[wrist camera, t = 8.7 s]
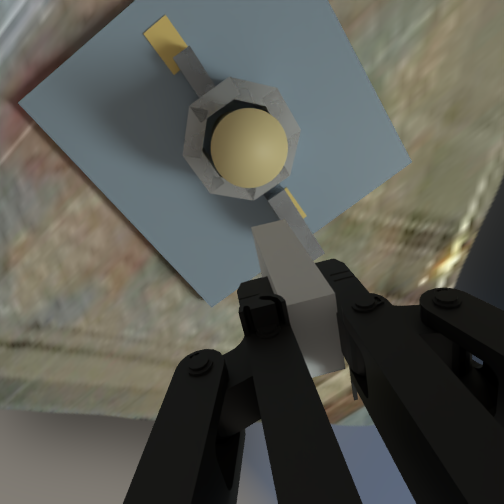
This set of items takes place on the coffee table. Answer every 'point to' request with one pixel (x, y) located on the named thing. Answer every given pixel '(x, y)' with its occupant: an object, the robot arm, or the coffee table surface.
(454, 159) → the coffee table surface
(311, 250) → the collar
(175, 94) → the board
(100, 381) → the coffee table surface
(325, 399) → the coffee table surface
